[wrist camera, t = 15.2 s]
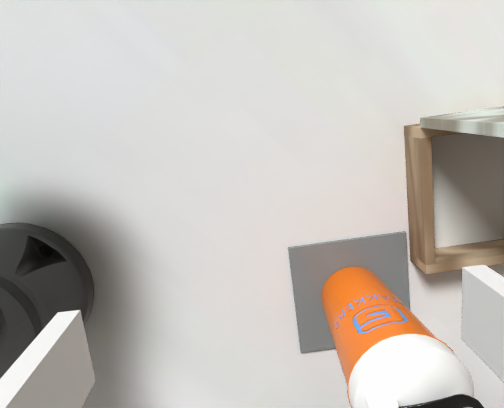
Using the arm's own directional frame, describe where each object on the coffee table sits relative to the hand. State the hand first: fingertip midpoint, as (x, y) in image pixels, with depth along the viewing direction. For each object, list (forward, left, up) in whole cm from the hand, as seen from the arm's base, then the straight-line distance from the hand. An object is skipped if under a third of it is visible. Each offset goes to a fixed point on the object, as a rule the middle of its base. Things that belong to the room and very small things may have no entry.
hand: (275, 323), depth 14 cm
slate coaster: (+9, -15, -31) cm, 35 cm away
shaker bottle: (+9, -15, -30) cm, 35 cm away
